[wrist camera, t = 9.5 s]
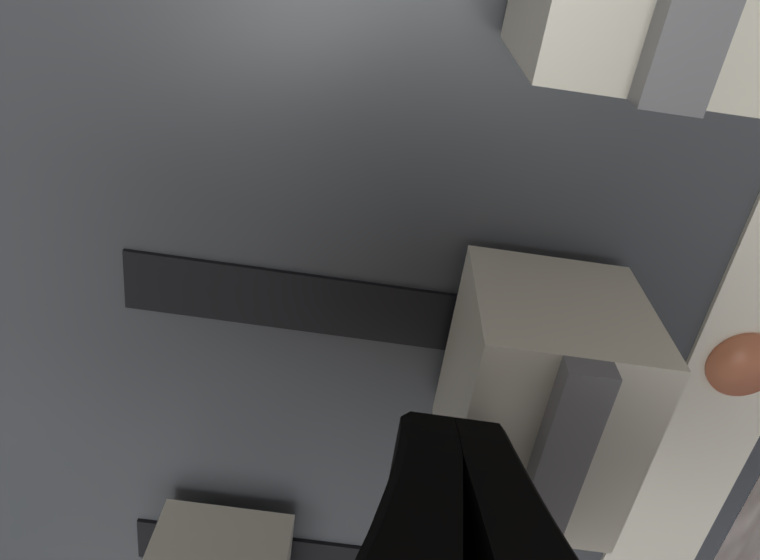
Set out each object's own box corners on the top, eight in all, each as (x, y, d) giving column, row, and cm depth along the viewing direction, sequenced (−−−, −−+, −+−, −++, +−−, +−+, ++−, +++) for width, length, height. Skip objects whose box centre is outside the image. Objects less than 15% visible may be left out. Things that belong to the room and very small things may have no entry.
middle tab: (629, 267, 12) (702, 391, 9) (573, 427, 14) (618, 575, 11) (468, 245, 12) (488, 362, 9) (432, 408, 14) (438, 552, 11)
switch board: (1144, -367, 9) (1260, -408, 8) (625, 655, 20) (639, 706, 18) (-277, -612, 8) (-395, -699, 7) (-16, 578, 19) (-45, 625, 18)
